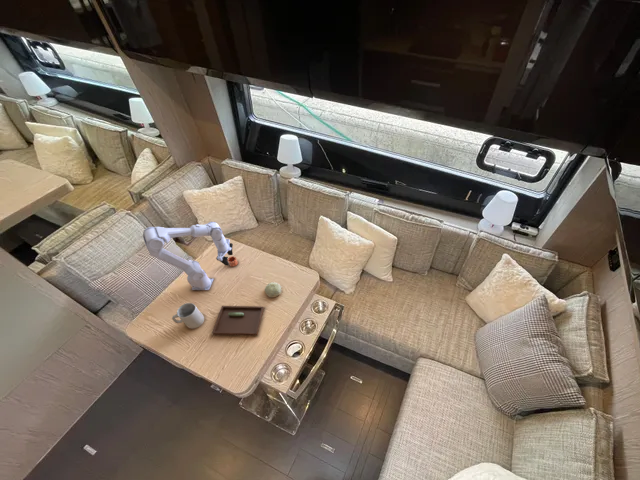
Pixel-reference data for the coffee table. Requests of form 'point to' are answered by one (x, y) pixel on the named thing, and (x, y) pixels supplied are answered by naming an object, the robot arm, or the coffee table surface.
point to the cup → (232, 261)
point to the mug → (189, 315)
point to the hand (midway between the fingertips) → (228, 259)
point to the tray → (238, 321)
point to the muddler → (235, 314)
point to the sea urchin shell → (273, 289)
